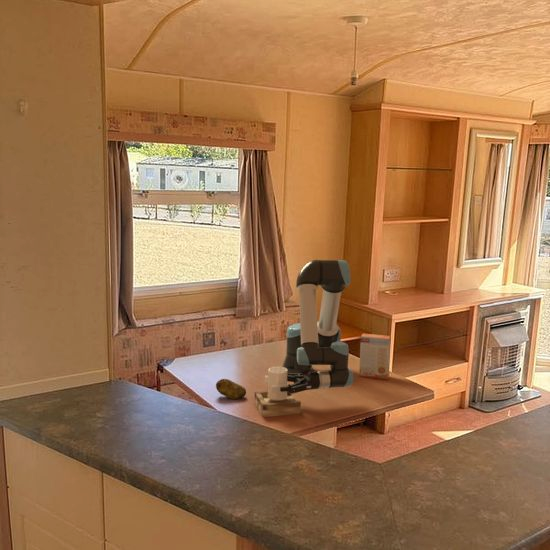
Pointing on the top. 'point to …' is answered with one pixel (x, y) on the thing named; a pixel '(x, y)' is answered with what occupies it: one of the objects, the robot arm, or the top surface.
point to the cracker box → (375, 356)
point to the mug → (277, 382)
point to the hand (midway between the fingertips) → (268, 384)
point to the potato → (230, 389)
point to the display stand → (276, 405)
